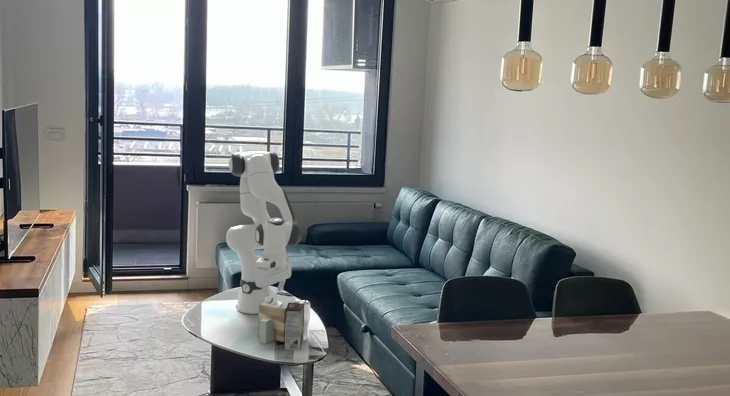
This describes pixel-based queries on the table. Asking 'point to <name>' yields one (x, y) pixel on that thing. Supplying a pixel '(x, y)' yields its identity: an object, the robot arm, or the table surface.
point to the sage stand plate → (267, 331)
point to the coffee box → (294, 326)
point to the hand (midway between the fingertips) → (273, 293)
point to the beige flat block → (274, 319)
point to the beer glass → (305, 318)
